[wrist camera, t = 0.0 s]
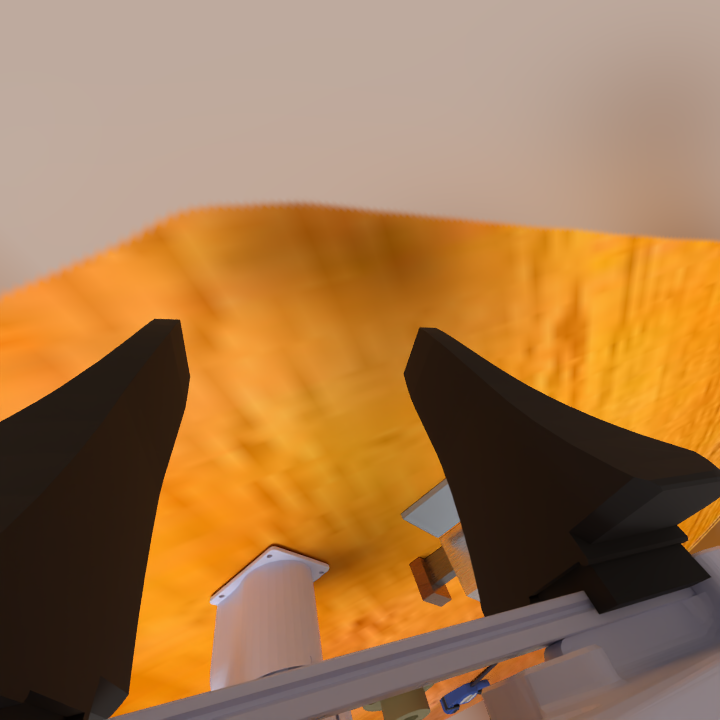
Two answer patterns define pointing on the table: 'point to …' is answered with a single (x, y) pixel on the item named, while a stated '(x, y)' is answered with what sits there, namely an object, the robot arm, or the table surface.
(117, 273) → the table surface
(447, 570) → the rail
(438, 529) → the mat
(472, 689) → the bar clamp
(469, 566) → the bracket
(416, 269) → the table surface
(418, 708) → the flange
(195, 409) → the table surface
